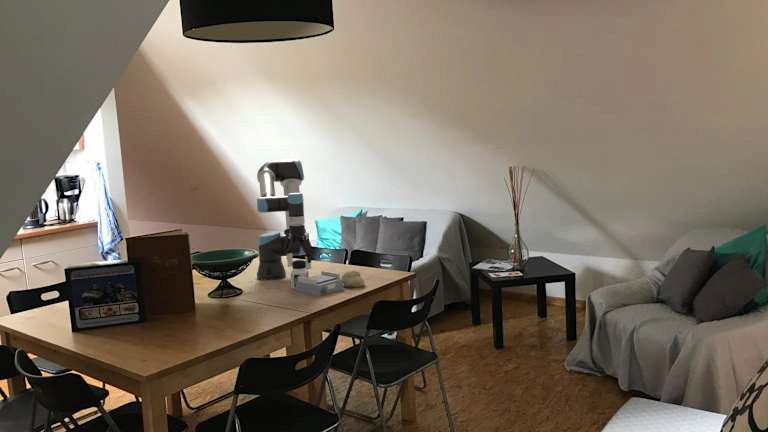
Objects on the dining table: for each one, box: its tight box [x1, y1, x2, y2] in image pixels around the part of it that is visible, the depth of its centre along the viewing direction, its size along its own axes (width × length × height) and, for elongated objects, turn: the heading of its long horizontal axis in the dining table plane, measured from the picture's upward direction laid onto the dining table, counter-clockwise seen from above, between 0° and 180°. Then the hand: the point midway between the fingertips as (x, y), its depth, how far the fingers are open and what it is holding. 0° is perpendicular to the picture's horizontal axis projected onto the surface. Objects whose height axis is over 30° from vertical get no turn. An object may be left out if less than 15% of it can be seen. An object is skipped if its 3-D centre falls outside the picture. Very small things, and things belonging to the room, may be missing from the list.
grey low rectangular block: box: [295, 270, 344, 297], centre depth 321 cm, size 17×16×7 cm
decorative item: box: [340, 270, 365, 289], centre depth 327 cm, size 12×9×10 cm
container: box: [290, 259, 310, 289], centre depth 330 cm, size 8×8×13 cm
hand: (299, 267), depth 329 cm, fingers open, 13 cm apart
